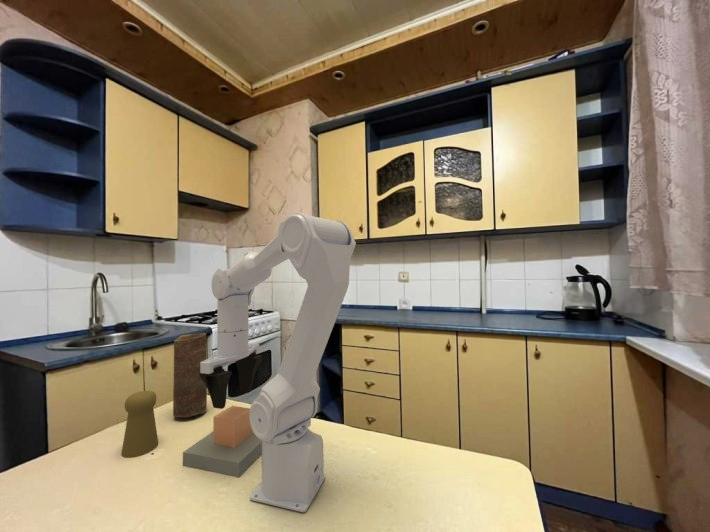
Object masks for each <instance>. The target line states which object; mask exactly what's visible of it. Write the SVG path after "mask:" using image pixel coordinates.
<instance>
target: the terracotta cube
mask: <svg viewBox="0 0 710 532" xmlns="http://www.w3.org/2000/svg"><path fill="white" fill-rule="evenodd" d="M250 408H251V407H250ZM250 408H249V407H242V406H239V405H238V406H236V405H230V406H229V407H227V408H226V409H224V410H222V411H221V412H219V413H217V414H216V415H214V416H213V429H212V430H213V431H212V432H213V443H215V444H220V445H224V446H229V447H233V448H235V447H236V446H237V445H239V444H240V443H241V442H242V441H244V440H245V439H246V438H248V437H249V436H250V435H251V434H252V428H251V425H250V419H249V413H250Z"/></svg>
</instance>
